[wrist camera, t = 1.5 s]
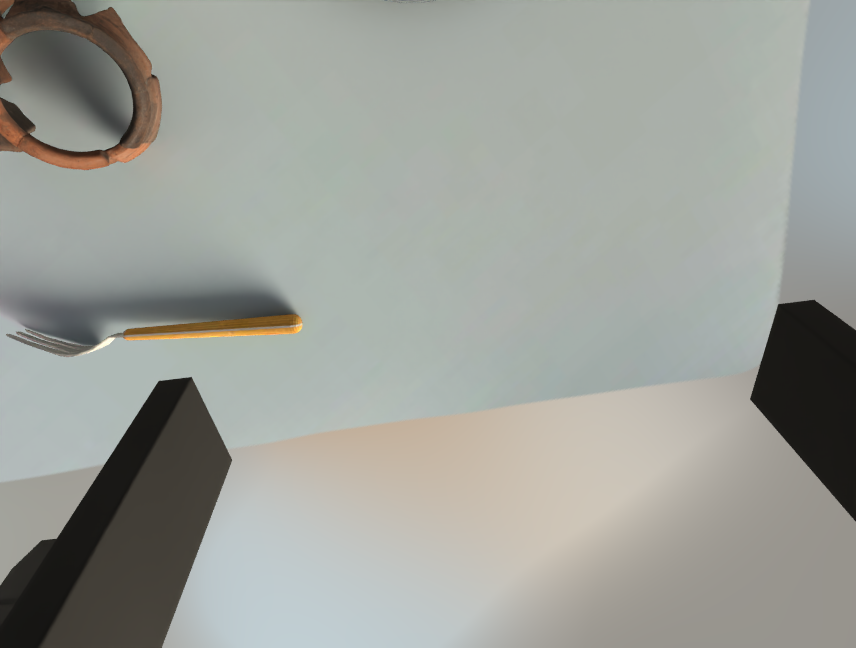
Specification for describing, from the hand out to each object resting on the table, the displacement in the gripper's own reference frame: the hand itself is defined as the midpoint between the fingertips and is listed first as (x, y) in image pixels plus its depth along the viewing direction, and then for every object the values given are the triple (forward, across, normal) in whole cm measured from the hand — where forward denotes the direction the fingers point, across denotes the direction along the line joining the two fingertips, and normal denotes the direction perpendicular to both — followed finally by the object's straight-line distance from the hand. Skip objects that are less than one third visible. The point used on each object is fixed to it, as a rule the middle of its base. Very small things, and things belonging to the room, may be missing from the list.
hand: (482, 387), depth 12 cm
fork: (+22, -21, -10) cm, 32 cm away
